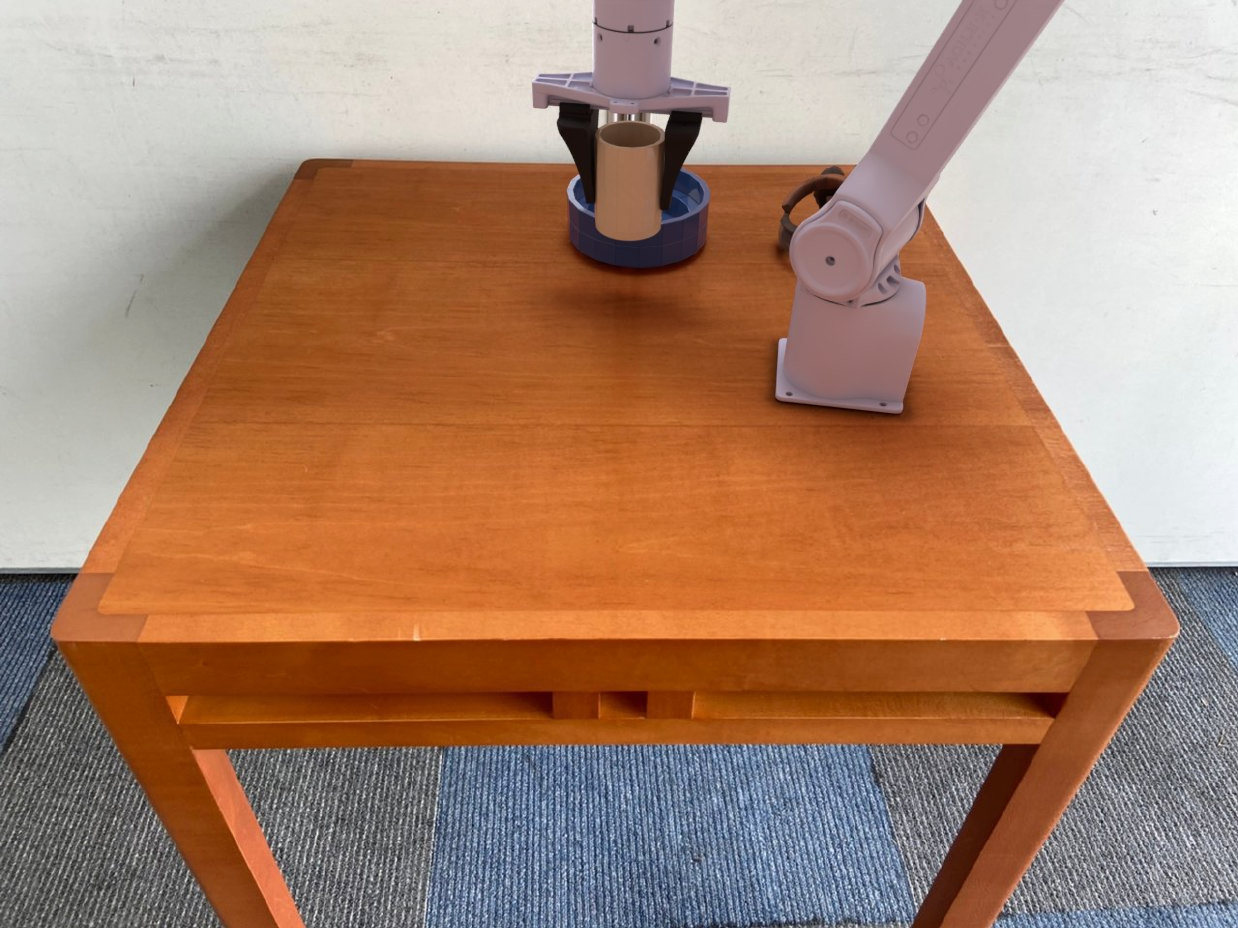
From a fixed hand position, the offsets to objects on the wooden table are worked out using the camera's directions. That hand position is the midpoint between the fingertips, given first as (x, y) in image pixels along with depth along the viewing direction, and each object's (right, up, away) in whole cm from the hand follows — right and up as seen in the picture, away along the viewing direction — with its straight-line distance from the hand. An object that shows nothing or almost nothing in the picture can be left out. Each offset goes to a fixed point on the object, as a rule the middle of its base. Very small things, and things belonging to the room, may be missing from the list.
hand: (628, 201), depth 72 cm
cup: (0, -2, +1) cm, 2 cm away
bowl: (+1, +1, +15) cm, 15 cm away
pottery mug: (+19, -1, +14) cm, 24 cm away
